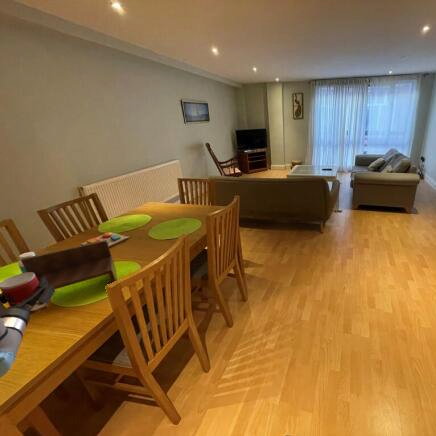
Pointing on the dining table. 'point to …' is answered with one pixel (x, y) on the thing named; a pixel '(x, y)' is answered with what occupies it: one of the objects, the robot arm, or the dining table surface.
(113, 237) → the puzzle board
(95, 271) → the shelf
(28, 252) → the pill bottle
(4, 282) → the canned food
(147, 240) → the dining table surface
